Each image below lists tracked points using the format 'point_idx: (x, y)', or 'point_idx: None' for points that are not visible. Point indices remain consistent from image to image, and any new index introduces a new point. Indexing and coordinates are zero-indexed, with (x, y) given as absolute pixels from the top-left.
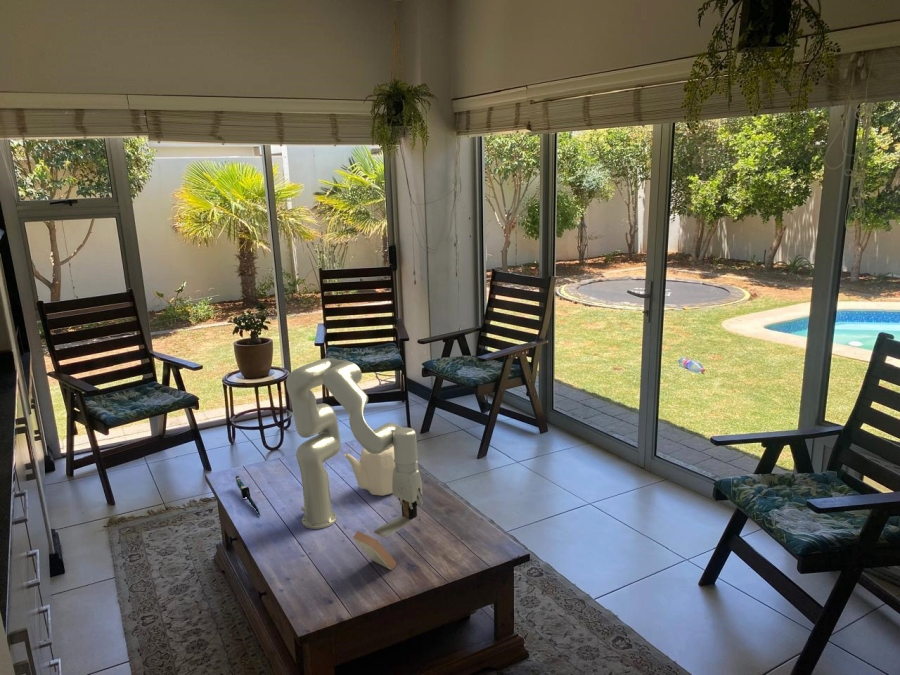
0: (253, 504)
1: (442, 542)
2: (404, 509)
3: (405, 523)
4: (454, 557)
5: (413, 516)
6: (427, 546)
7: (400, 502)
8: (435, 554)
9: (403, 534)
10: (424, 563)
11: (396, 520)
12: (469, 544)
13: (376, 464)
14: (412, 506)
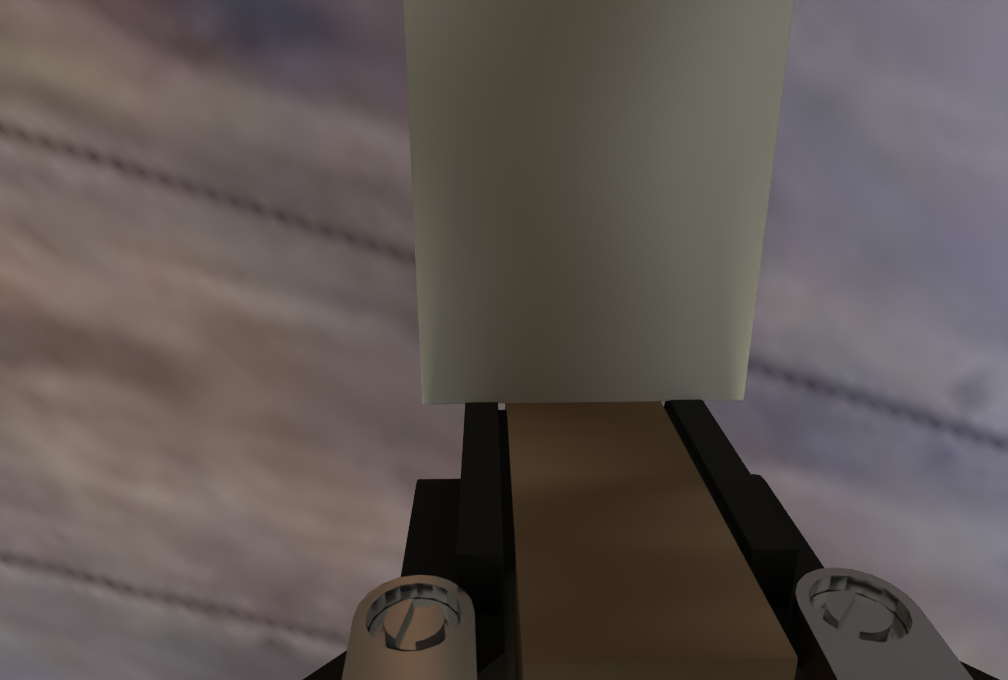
0: None
1: (357, 519)
2: (663, 506)
3: (417, 225)
4: (67, 411)
5: (417, 488)
6: (416, 393)
7: (909, 633)
8: (243, 340)
9: (771, 403)
10: (190, 146)
11: (687, 195)
12: (151, 624)
13: None
14: (350, 677)
